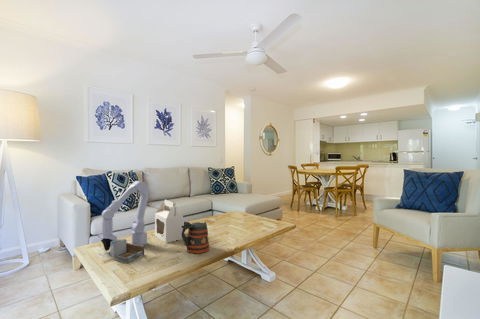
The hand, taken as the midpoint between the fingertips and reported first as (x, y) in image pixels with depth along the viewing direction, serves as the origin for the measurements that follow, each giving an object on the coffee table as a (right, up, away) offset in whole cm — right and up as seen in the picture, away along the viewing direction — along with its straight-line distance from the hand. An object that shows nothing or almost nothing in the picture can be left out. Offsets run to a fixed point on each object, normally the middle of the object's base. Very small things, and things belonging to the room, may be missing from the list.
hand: (107, 250), depth 143 cm
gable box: (+30, -2, +29) cm, 42 cm away
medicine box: (+8, -2, -2) cm, 9 cm away
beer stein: (+55, -2, +4) cm, 55 cm away
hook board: (+13, -1, -5) cm, 14 cm away
